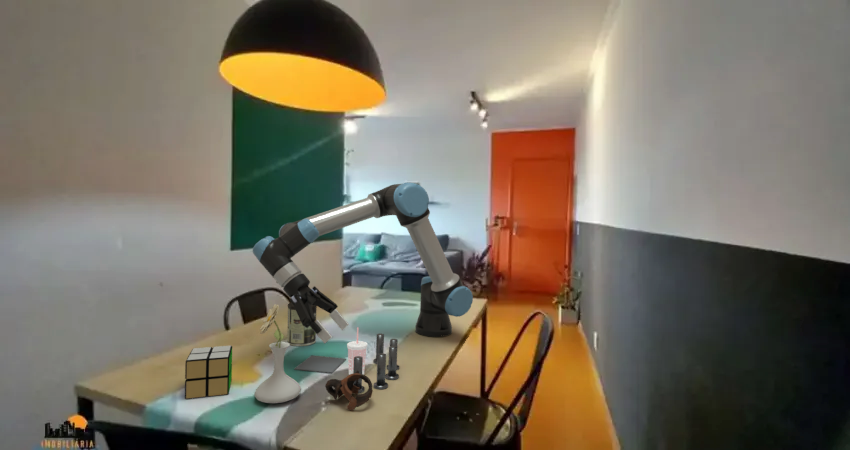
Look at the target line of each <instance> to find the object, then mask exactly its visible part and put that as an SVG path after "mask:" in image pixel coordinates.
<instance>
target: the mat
mask: <svg viewBox="0 0 850 450" xmlns="http://www.w3.org/2000/svg"><path fill="white" fill-rule="evenodd" d="M345 361H347V358H345V357H344V358H343V357H333V356H323V355H315V354H314V355H313V354H312V355H310V356H309V357H307V358H306V359H305V360H304V361H302V362H301V363H299V364H298V365H296V366H295V367H294V371H300V372H301V371H302V372H313V373H321V374H322V373H323V374H331V375H333V373H335V371H336V370H338V369H339V367H340V366H342V365H343V364H344V363H345Z"/></svg>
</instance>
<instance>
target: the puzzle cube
mask: <svg viewBox="0 0 850 450" xmlns="http://www.w3.org/2000/svg"><path fill="white" fill-rule="evenodd" d="M184 369H185V372H184V374H185V375H184V379H185V381H184V399H185V400H191V399H192V398H193V399H199V398H206V397H208V398H211V397H218V396H220V397H221V396H227V395H229V394H230V390H231V385H232V380H233V379H232V377H233V346H232V345H220V346H219V345H217V346H213V347H212V346H206V347H205V346H204V347H195V348H194V347H193V348H192V349H191V351H190V352H189V355H188V356H187V358H186V360H185V368H184ZM193 399H192V400H193Z"/></svg>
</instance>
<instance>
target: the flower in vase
mask: <svg viewBox="0 0 850 450" xmlns="http://www.w3.org/2000/svg"><path fill="white" fill-rule="evenodd" d="M279 310H280V305H279V304H273V306H272V308H270V309H268V313H267V317H265V318H263V320H262V322H263V324H262V326H261V327H260V328H259V331H260V334H266V332H268V330H269V329H270V328H271V326H272V324H275V326H276V330H275V331H274V333H273V337H274V338H275V339H276V340H277V342H272V343H270V344H268V347H269V349H270V350H271V351H272V355H273V361H274V362H273V363H274V365H273V372H272V374H271V375H270V376H269V377H268V378H266V379H265V380H264V381H262V382H261V383H260V384H259V385H258V386H257V387H256V388H255V391H254V393H253V395H254V397H255V398H256V400H257V401H259V402H261V403H266V404H281V403H285V402H288V401H291V400H293V399H295V398H297V397H298V396H299V395H300V393H301V391H302V388H301V385H300V383H299V382H297V380H295V379H294V378H293V377H290V376H289V375H287V373H286V372H285V369H284V362H285V361H284V360H285V355H286V351H287V349H288V348H289V346H291V345H290V344H289V343H287V341H286V342H285V341H283V339H284V338H285V335H284V334H283V332H281V330H280V327H279V325H278V324H277V321H276V318H277V315H278V313H279Z"/></svg>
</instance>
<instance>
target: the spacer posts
mask: <svg viewBox="0 0 850 450" xmlns="http://www.w3.org/2000/svg"><path fill="white" fill-rule="evenodd" d="M398 342H399V341H398V339H397V338H390V339H389V347H388V364H387V353H384V346H385V334H384V333H376V341H375V343H376V345H375V347H376V348H375V358H374V359H372V363H373V364H375V365H376V382H374V383H373V388H374V389H376V390H386V389H387V388H389V384H388V382H386V380H389V381H396V380H398V379H399V378H400V374H398V373H397V371H399V369H400V365H399V364H398V345H399V344H398ZM362 365H363V357H361V356H356V357H354V368H353V373H359V374H362ZM386 370H387V371H386ZM386 372H387V373H386ZM353 385H354V386H356V387H359V388H360V389H359V391H358V394H363V393H365V390H366V386H364V385H363V379H361V378H360V379H359V380H355V382H354V384H353Z"/></svg>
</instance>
